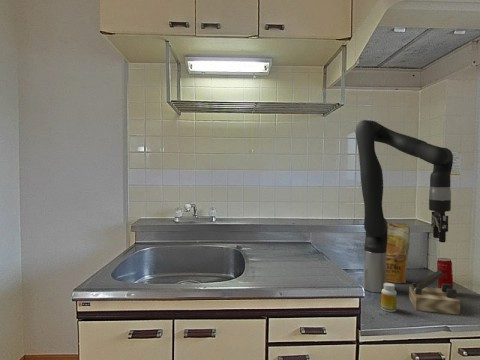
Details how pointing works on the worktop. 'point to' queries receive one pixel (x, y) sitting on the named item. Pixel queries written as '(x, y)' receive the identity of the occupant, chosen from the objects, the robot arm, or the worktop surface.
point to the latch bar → (429, 280)
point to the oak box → (435, 299)
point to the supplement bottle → (388, 297)
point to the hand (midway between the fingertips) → (439, 239)
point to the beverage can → (445, 272)
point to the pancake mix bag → (397, 252)
